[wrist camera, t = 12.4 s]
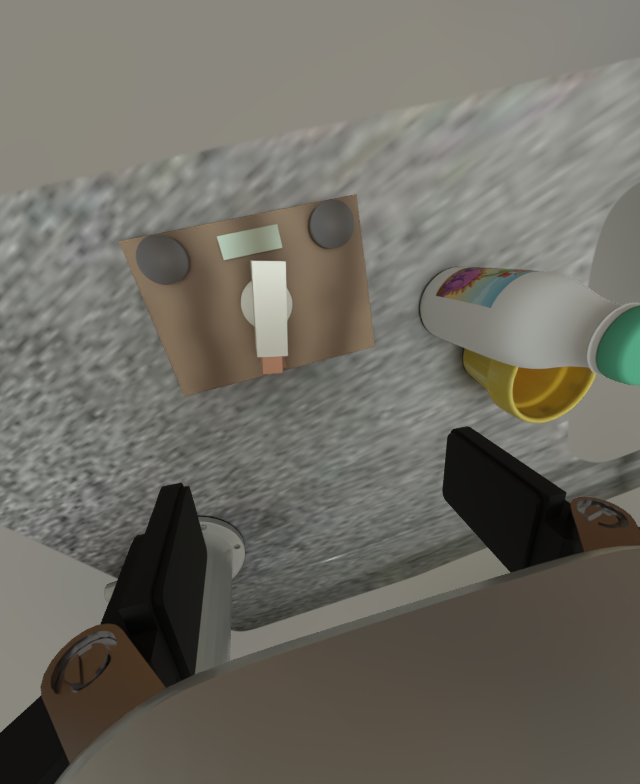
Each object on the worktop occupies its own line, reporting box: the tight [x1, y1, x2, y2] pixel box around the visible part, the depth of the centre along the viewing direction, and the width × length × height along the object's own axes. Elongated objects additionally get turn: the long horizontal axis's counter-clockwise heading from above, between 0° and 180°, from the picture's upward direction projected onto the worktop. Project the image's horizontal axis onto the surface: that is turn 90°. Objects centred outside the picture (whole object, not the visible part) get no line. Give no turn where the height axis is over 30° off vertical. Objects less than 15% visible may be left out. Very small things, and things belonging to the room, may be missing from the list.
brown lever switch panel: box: [119, 194, 375, 397], centre depth 29 cm, size 20×14×4 cm
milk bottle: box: [420, 267, 640, 385], centre depth 27 cm, size 8×8×20 cm
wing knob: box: [241, 260, 292, 374], centre depth 27 cm, size 9×4×6 cm, turn 179°
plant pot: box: [463, 348, 596, 423], centre depth 35 cm, size 10×10×10 cm
